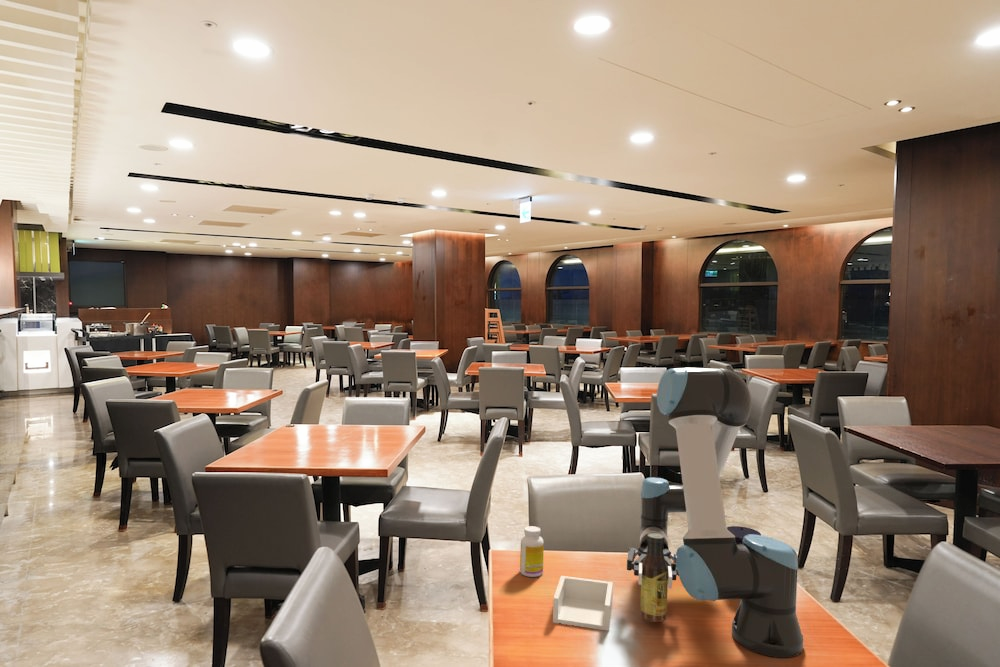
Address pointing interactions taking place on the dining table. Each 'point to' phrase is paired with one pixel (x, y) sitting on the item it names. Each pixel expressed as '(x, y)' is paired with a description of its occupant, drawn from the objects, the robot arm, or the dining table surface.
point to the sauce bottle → (654, 581)
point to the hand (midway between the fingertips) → (655, 580)
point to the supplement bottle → (531, 552)
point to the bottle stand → (583, 603)
